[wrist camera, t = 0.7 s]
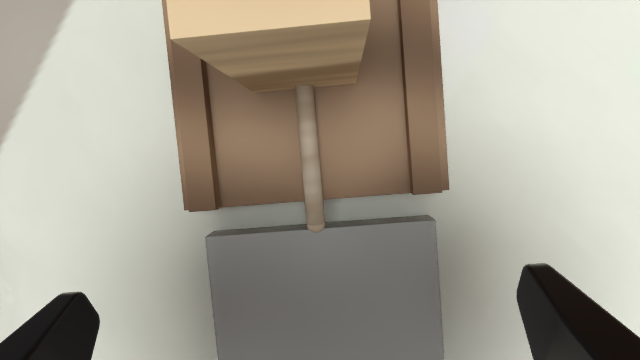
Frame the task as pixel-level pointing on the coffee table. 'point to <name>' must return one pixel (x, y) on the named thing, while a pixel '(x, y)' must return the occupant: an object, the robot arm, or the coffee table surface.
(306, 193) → the oak mallet
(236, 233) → the grey rubber pad
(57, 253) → the coffee table surface
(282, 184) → the walnut shelf lane
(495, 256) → the coffee table surface
